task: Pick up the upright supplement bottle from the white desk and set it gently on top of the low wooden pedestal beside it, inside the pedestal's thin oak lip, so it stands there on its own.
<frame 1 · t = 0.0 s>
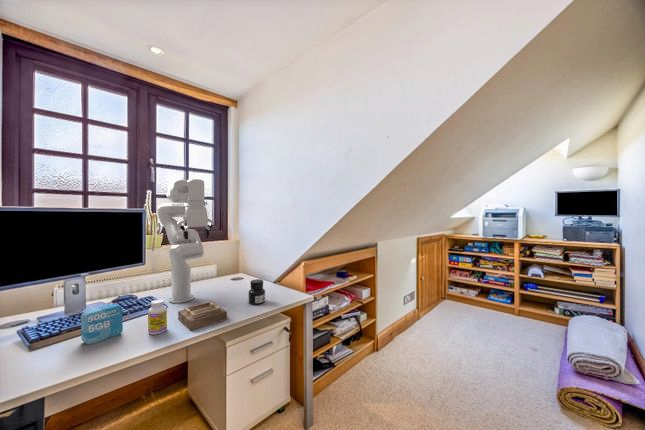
hand: (196, 238, 133), 37 cm above the table, tool pointing down, fingers open, 9 cm apart
data package: (102, 338, 106), on the table
wooden pedestal: (202, 319, 124), on the table
supplement bottle: (157, 332, 112), on the table
ink bottle: (256, 302, 146), on the table
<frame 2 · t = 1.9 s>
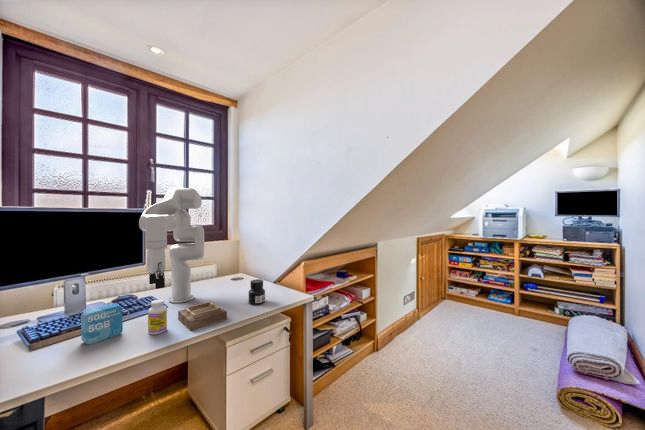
hand: (156, 285, 111), 19 cm above the table, tool pointing down, fingers open, 9 cm apart
nothing on the table moved.
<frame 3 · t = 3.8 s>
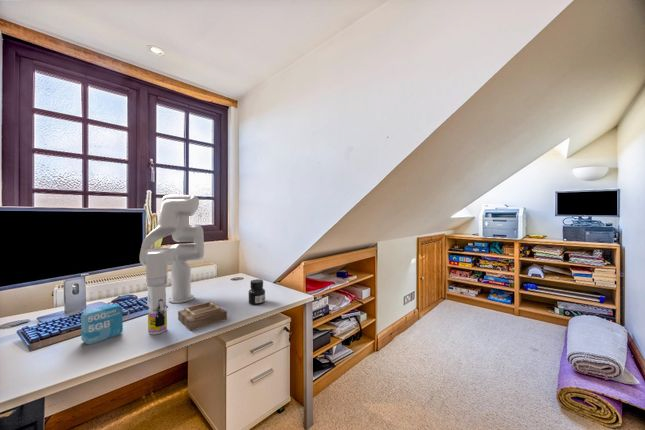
hand: (157, 322, 111), 4 cm above the table, tool pointing down, fingers closed on supplement bottle, 6 cm apart
supplement bottle: (157, 331, 112), on the table, touching gripper
everything else where it was.
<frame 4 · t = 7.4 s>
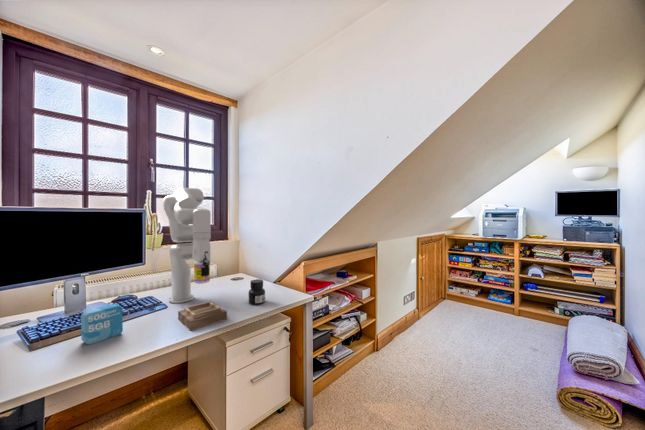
hand: (202, 274, 123), 21 cm above the table, tool pointing down, fingers closed on supplement bottle, 6 cm apart
supplement bottle: (202, 282, 123), point 17 cm above the table, touching gripper
everything else where it was.
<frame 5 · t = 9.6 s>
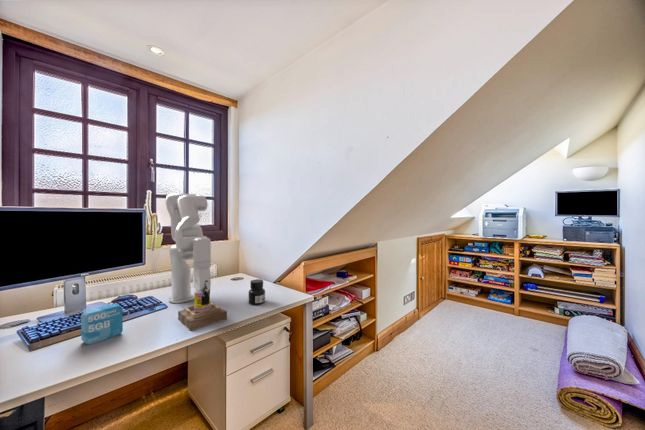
hand: (202, 302, 123), 8 cm above the table, tool pointing down, fingers closed on supplement bottle, 6 cm apart
supplement bottle: (202, 310, 124), point 4 cm above the table, touching gripper
everything else where it was.
when the fingers open (8 cm above the table, at t = 11.2 s): supplement bottle stays where it is, resting on wooden pedestal.
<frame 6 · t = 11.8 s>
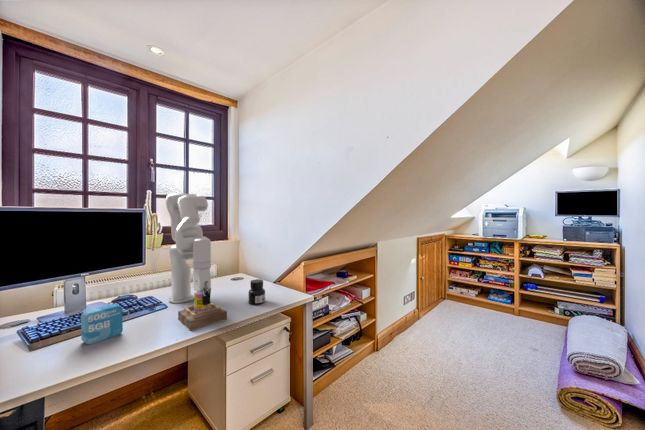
hand: (202, 301, 123), 9 cm above the table, tool pointing down, fingers open, 9 cm apart
supplement bottle: (202, 311, 124), point 4 cm above the table, touching wooden pedestal
everything else where it was.
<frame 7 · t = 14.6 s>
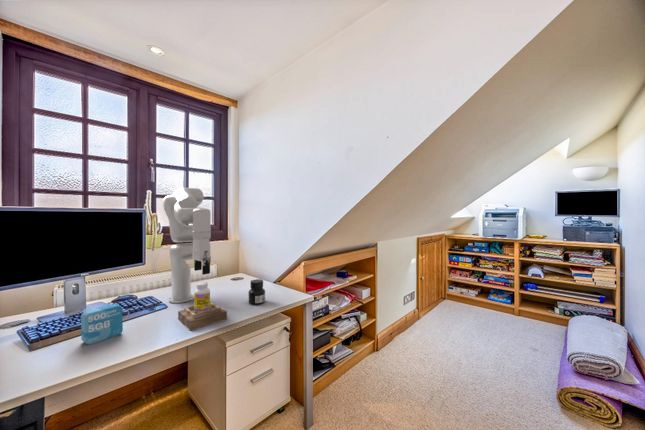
hand: (202, 272, 123), 22 cm above the table, tool pointing down, fingers open, 9 cm apart
nothing on the table moved.
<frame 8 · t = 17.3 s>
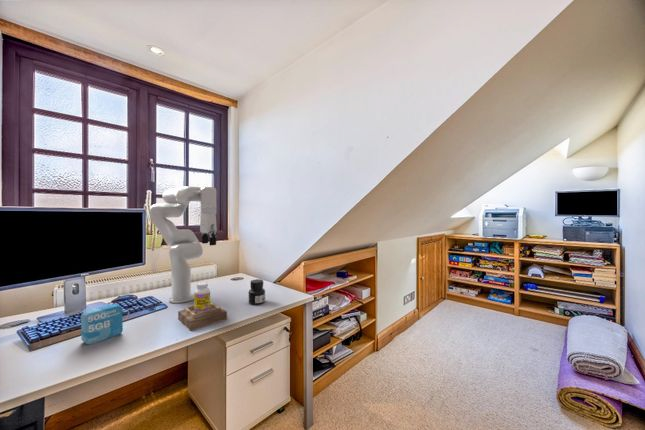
hand: (208, 244, 137), 33 cm above the table, tool pointing down, fingers open, 9 cm apart
nothing on the table moved.
at the end: supplement bottle inside the target area on the wooden pedestal (0.2 cm from its centre), point 3.8 cm above the wooden pedestal's base; supplement bottle tilted 0°; the gripper is holding nothing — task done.
